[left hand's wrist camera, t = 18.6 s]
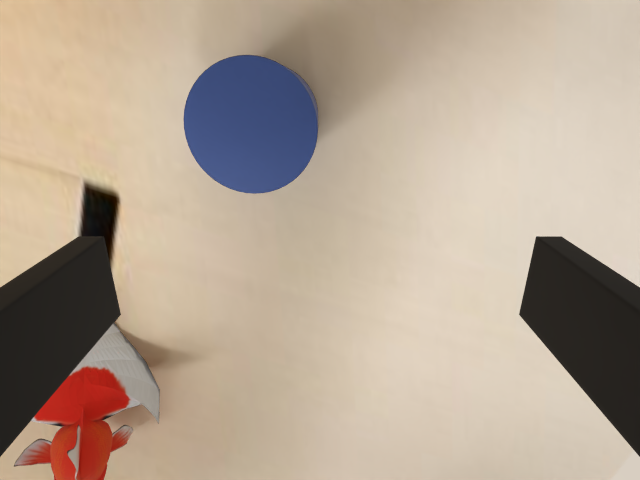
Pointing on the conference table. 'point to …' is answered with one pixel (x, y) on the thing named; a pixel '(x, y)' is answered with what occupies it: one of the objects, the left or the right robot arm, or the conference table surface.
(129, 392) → the fish
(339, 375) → the conference table surface
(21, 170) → the conference table surface
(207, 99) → the can
